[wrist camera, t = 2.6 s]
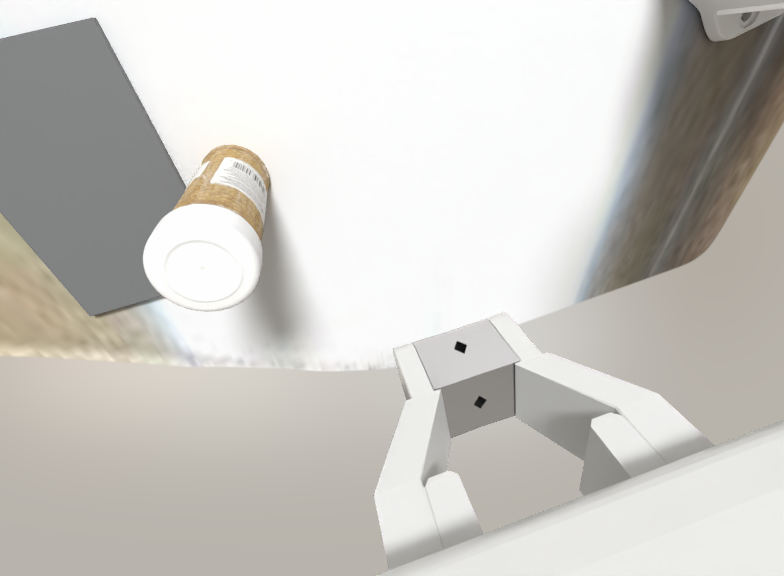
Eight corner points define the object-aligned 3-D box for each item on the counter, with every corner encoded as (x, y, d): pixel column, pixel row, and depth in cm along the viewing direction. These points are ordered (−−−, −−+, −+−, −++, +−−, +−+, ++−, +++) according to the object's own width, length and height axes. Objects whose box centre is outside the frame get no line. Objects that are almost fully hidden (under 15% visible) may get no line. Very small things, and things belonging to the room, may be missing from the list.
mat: (96, 18, 21) (92, 17, 20) (231, 272, 30) (230, 275, 30) (-117, 66, 20) (-125, 67, 19) (93, 312, 30) (90, 316, 29)
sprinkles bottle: (187, 159, 25) (111, 248, 14) (249, 132, 25) (220, 201, 14) (226, 217, 28) (187, 330, 17) (282, 193, 28) (280, 290, 17)
